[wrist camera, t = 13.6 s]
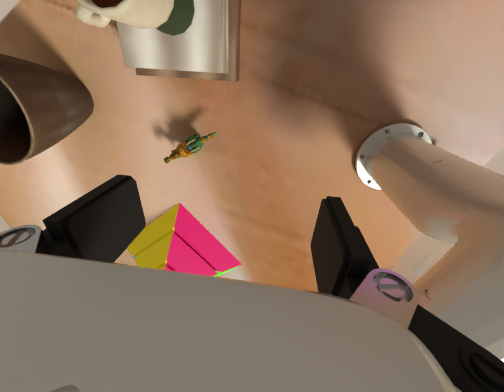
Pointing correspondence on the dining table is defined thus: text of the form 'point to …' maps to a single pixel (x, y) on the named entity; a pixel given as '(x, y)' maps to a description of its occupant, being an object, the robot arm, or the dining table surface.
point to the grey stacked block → (189, 45)
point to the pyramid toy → (181, 246)
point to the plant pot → (37, 108)
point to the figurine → (188, 147)
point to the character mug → (139, 13)
